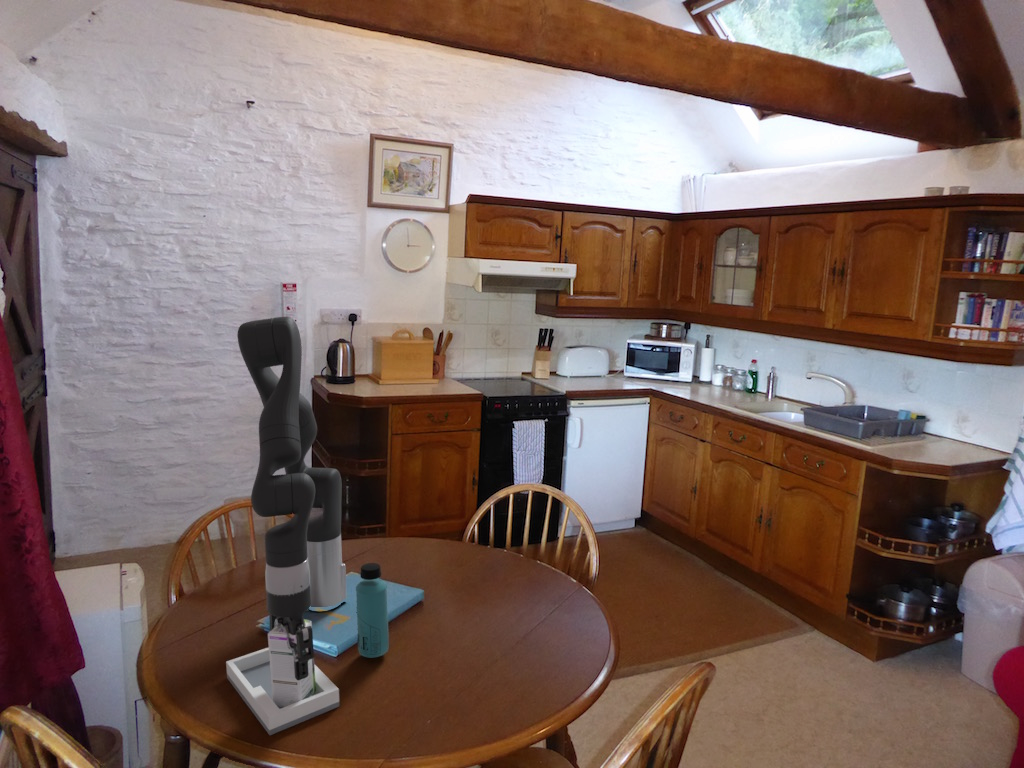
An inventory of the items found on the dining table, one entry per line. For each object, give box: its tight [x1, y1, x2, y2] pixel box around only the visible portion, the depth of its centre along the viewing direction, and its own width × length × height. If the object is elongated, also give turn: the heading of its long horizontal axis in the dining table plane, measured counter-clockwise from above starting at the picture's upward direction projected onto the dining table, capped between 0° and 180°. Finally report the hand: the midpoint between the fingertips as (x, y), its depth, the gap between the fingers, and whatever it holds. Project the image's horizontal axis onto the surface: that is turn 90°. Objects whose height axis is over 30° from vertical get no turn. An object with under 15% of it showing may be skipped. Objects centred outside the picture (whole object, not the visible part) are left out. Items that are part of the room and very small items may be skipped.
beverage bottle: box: [355, 562, 390, 659], centre depth 146 cm, size 6×7×20 cm
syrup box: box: [267, 618, 316, 707], centre depth 129 cm, size 6×6×14 cm
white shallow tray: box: [225, 646, 340, 736], centre depth 135 cm, size 13×22×4 cm, turn 40°
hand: (292, 667), depth 129 cm, fingers closed on syrup box, 7 cm apart
